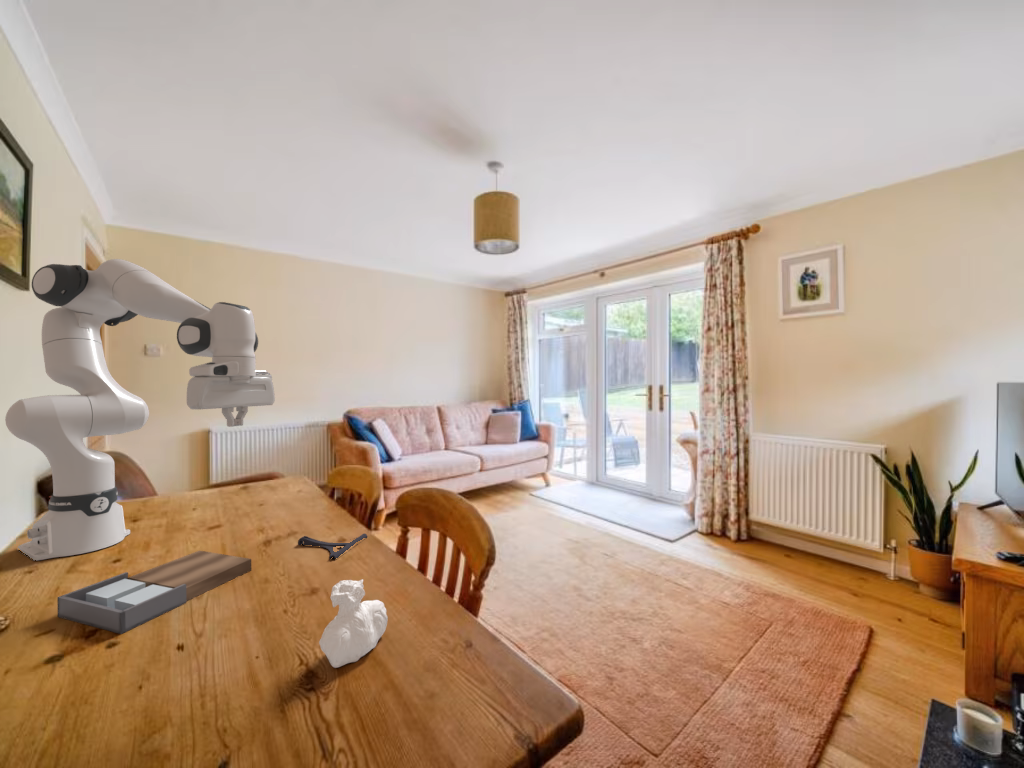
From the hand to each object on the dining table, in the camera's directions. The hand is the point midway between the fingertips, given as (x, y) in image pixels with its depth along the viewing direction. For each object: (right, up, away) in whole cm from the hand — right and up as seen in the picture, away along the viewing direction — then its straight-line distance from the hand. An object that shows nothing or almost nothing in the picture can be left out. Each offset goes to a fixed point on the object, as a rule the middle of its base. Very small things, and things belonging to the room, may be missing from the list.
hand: (235, 426), depth 101 cm
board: (0, -31, -14) cm, 34 cm away
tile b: (+1, -31, -25) cm, 40 cm away
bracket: (+20, -32, +4) cm, 38 cm away
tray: (-4, -31, -25) cm, 40 cm away
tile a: (-7, -31, -23) cm, 39 cm away
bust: (+43, -31, -37) cm, 64 cm away
